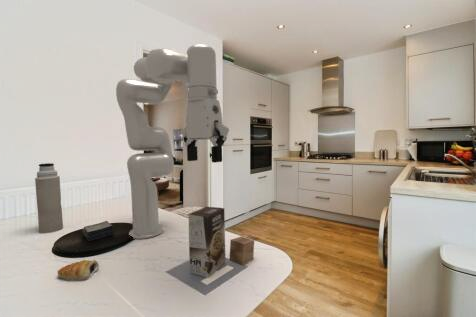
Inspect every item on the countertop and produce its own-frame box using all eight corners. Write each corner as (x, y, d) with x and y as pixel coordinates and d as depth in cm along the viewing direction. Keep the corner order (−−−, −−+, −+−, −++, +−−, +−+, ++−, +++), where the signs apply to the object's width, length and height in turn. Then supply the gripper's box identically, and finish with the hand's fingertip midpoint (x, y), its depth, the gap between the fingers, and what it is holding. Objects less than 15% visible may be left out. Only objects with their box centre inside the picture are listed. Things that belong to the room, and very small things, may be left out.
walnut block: (229, 260, 70) (230, 239, 70) (240, 255, 74) (241, 236, 74) (242, 265, 67) (243, 244, 67) (253, 260, 71) (254, 240, 71)
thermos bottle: (58, 225, 106) (53, 162, 104) (66, 228, 102) (62, 163, 100) (35, 231, 99) (30, 164, 97) (43, 234, 95) (38, 164, 93)
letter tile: (165, 273, 65) (165, 271, 65) (209, 252, 77) (208, 250, 77) (205, 297, 54) (205, 295, 54) (248, 268, 67) (248, 266, 67)
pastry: (50, 283, 62) (49, 268, 61) (68, 269, 68) (67, 256, 68) (87, 281, 62) (86, 267, 62) (101, 268, 69) (101, 255, 69)
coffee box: (209, 278, 61) (207, 216, 60) (188, 273, 64) (187, 213, 63) (226, 262, 69) (225, 207, 68) (207, 258, 72) (206, 205, 71)
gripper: (236, 93, 60) (237, 161, 61) (192, 102, 71) (194, 159, 72) (215, 88, 54) (217, 163, 55) (170, 98, 65) (173, 161, 66)
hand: (204, 161), depth 64 cm, fingers open, 9 cm apart
